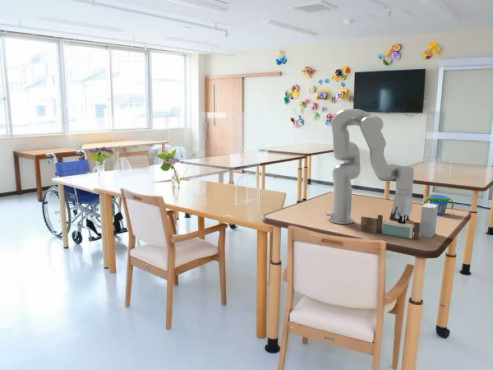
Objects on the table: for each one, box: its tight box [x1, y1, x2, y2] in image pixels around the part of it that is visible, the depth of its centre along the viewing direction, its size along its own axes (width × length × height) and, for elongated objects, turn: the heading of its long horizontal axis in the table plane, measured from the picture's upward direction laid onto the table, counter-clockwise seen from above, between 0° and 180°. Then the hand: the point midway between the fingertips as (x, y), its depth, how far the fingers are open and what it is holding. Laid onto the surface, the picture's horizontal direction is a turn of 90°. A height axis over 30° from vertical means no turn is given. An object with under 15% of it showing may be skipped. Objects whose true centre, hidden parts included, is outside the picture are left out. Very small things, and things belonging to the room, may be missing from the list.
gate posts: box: [360, 214, 420, 241], centre depth 202 cm, size 28×3×9 cm, turn 56°
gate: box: [382, 220, 414, 239], centre depth 199 cm, size 14×2×6 cm, turn 56°
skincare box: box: [419, 202, 438, 239], centre depth 201 cm, size 8×6×15 cm
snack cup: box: [423, 194, 454, 216], centre depth 241 cm, size 16×10×10 cm
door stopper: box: [389, 207, 410, 223], centre depth 228 cm, size 9×6×12 cm, turn 123°
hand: (401, 228), depth 204 cm, fingers closed
